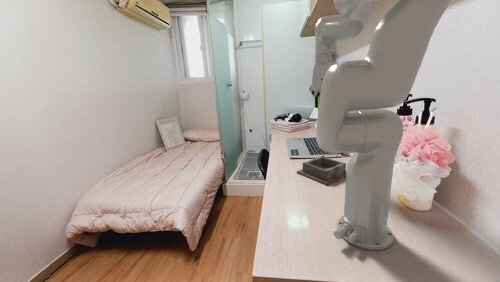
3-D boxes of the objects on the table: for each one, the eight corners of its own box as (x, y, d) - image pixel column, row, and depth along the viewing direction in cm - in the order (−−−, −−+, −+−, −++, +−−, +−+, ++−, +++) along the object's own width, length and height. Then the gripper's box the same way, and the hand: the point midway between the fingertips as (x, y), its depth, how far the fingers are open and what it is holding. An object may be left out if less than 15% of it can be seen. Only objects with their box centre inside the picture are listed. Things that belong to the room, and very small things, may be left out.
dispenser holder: (327, 185, 78) (327, 174, 77) (296, 173, 92) (296, 162, 90) (352, 174, 86) (352, 163, 85) (320, 164, 100) (320, 154, 99)
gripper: (353, 56, 72) (350, 107, 77) (314, 62, 87) (314, 106, 91) (340, 55, 68) (338, 110, 73) (301, 62, 83) (301, 108, 87)
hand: (324, 107), depth 82 cm, fingers closed on soap dispenser, 5 cm apart
